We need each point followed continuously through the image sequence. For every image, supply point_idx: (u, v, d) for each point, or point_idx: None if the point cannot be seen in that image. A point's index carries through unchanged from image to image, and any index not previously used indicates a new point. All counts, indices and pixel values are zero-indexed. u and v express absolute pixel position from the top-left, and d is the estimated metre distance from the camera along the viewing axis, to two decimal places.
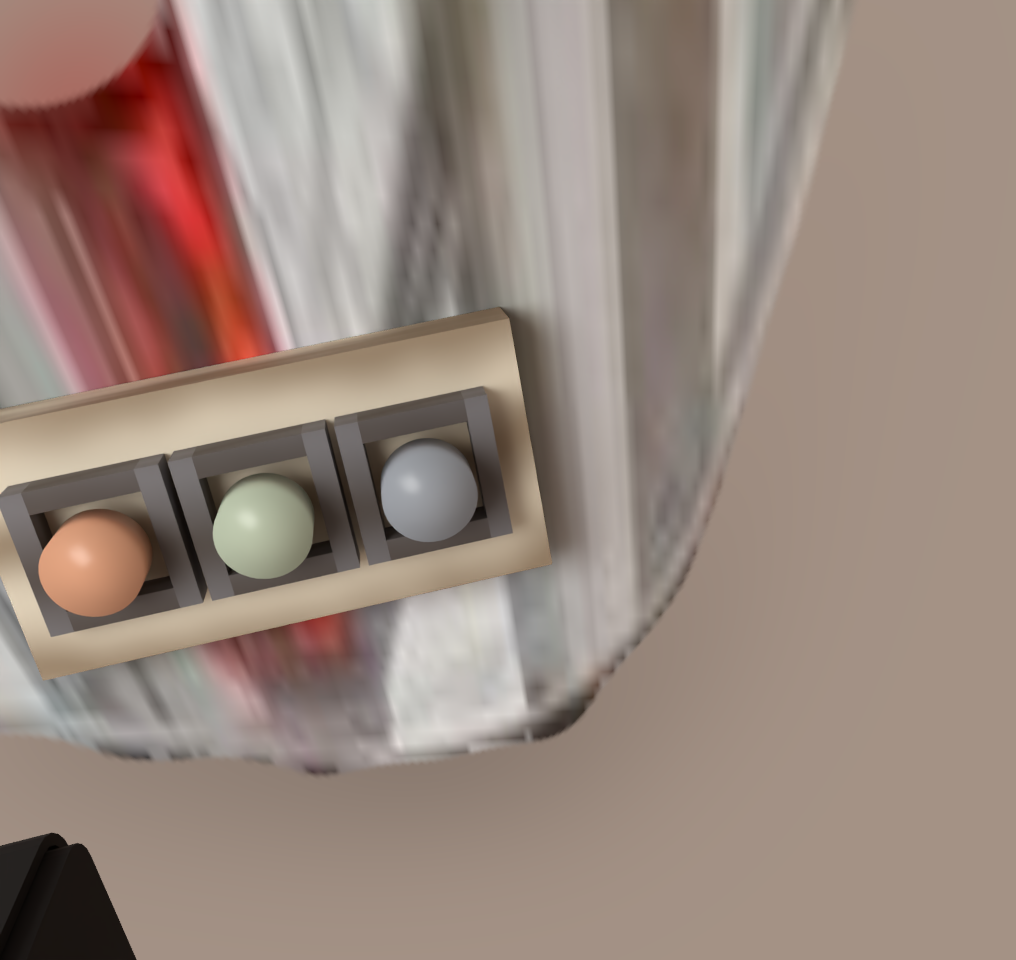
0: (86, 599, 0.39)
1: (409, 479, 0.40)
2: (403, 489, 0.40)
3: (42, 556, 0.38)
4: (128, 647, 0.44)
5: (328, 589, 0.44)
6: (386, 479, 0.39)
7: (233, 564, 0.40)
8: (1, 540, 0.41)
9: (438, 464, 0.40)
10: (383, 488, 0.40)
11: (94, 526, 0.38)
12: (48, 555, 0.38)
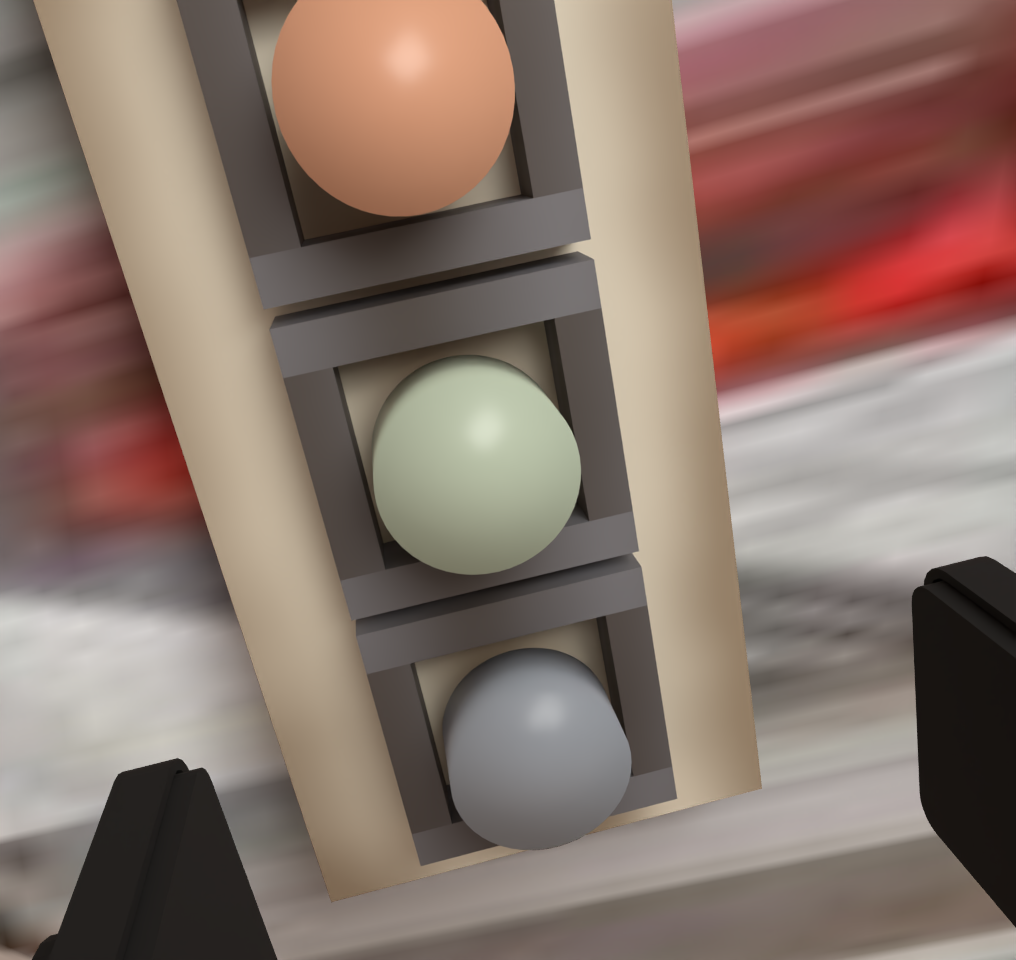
0: (320, 69, 0.16)
1: (581, 738, 0.21)
2: (562, 729, 0.21)
3: None
4: (105, 104, 0.18)
5: (270, 536, 0.22)
6: (582, 698, 0.20)
7: (410, 417, 0.18)
8: None
9: (606, 782, 0.21)
10: (564, 695, 0.20)
11: (512, 113, 0.16)
12: None
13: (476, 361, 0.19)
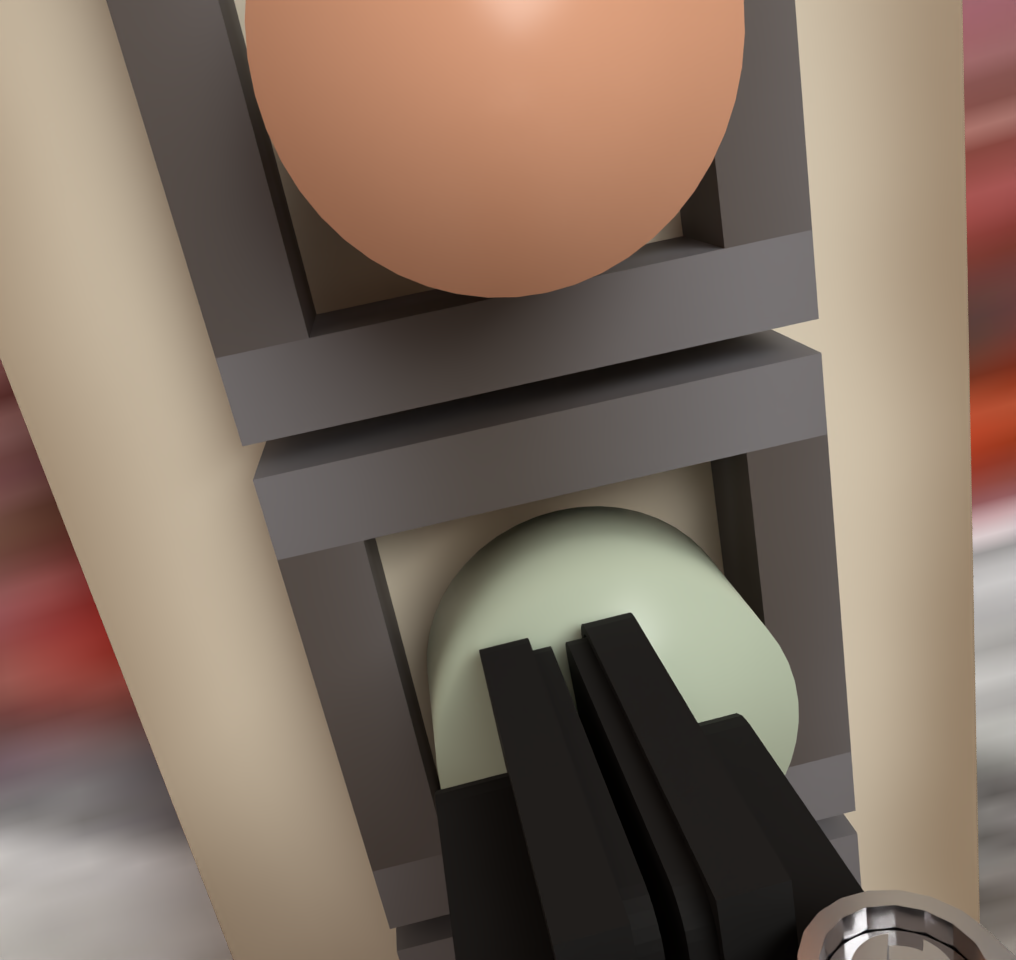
0: None
1: None
2: None
3: None
4: None
5: (260, 778, 0.14)
6: None
7: None
8: None
9: None
10: None
11: (732, 91, 0.08)
12: None
13: (611, 526, 0.11)
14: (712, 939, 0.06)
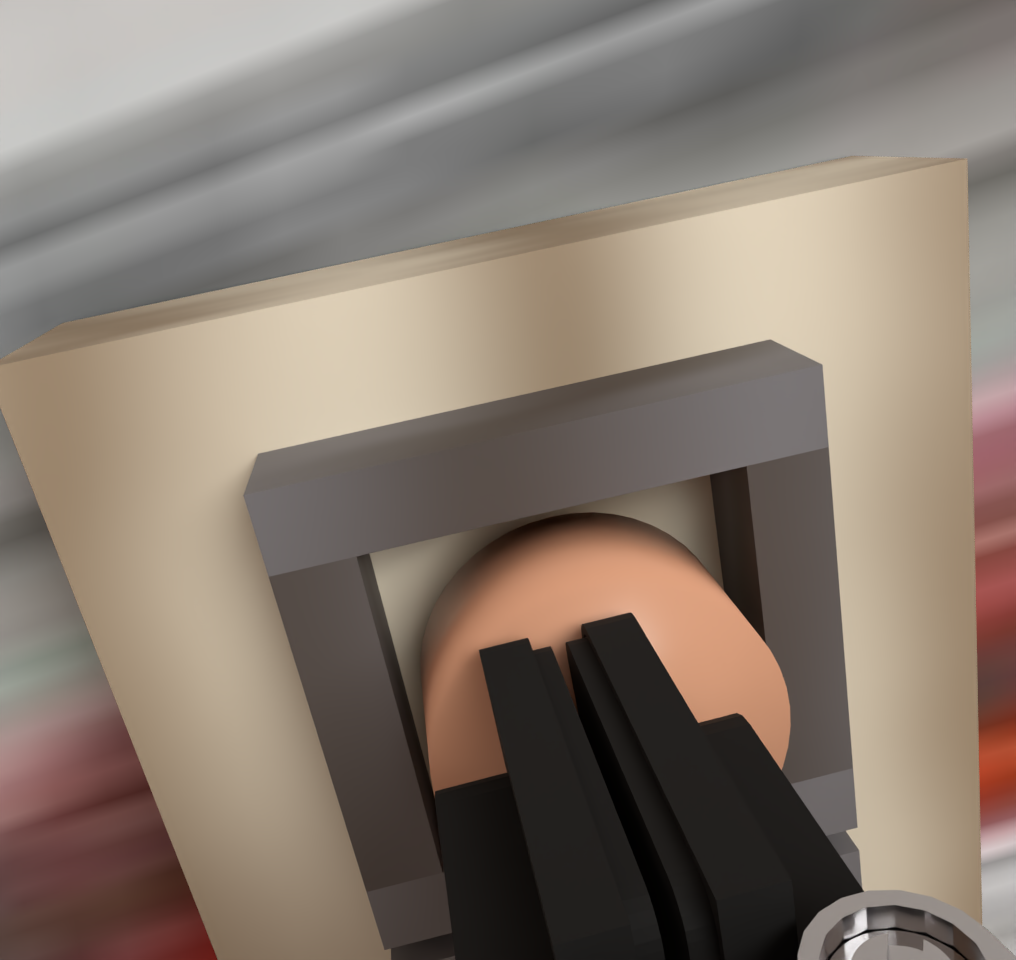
0: None
1: None
2: None
3: (695, 598, 0.10)
4: (155, 658, 0.12)
5: None
6: None
7: None
8: (583, 294, 0.12)
9: None
10: None
11: (780, 753, 0.11)
12: (697, 619, 0.10)
13: None
14: (713, 939, 0.06)
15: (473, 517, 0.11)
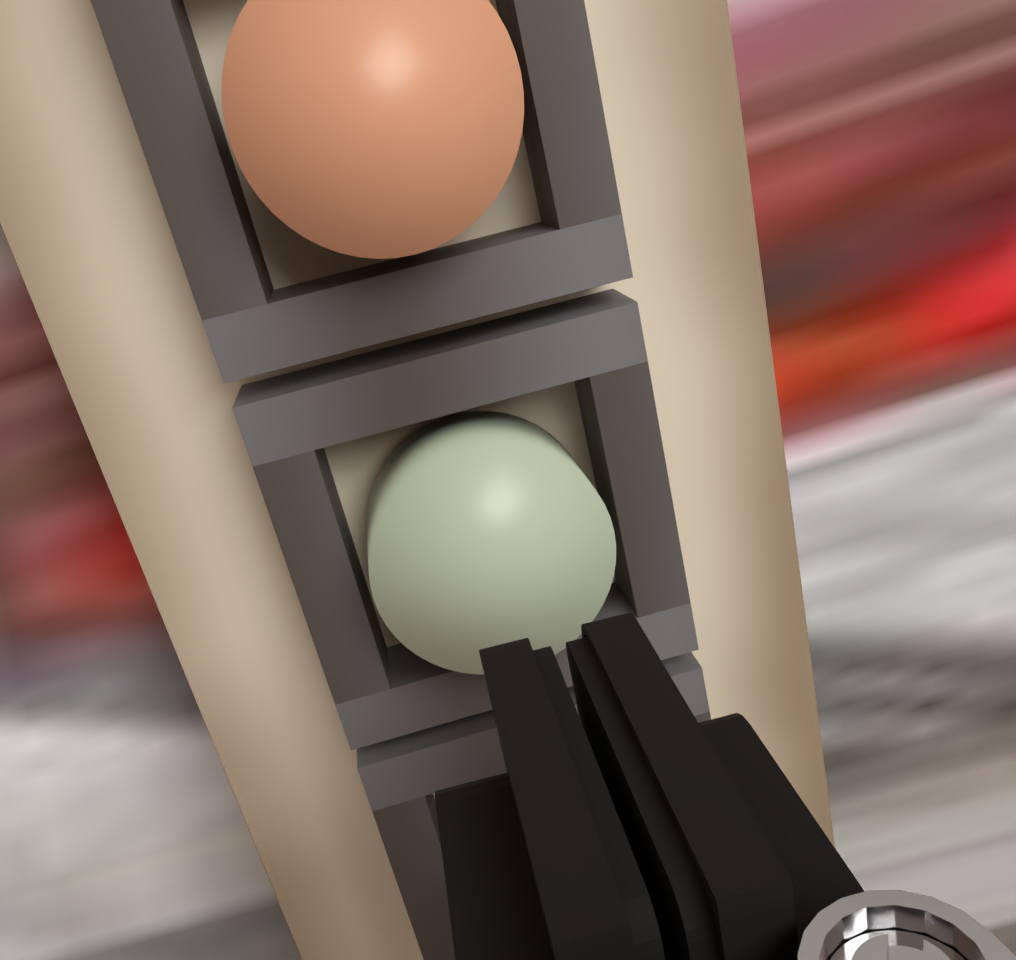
0: (282, 82, 0.13)
1: None
2: None
3: None
4: (11, 131, 0.14)
5: (249, 647, 0.18)
6: None
7: (410, 496, 0.15)
8: None
9: None
10: None
11: (520, 127, 0.13)
12: None
13: (486, 420, 0.16)
14: (713, 939, 0.06)
15: None
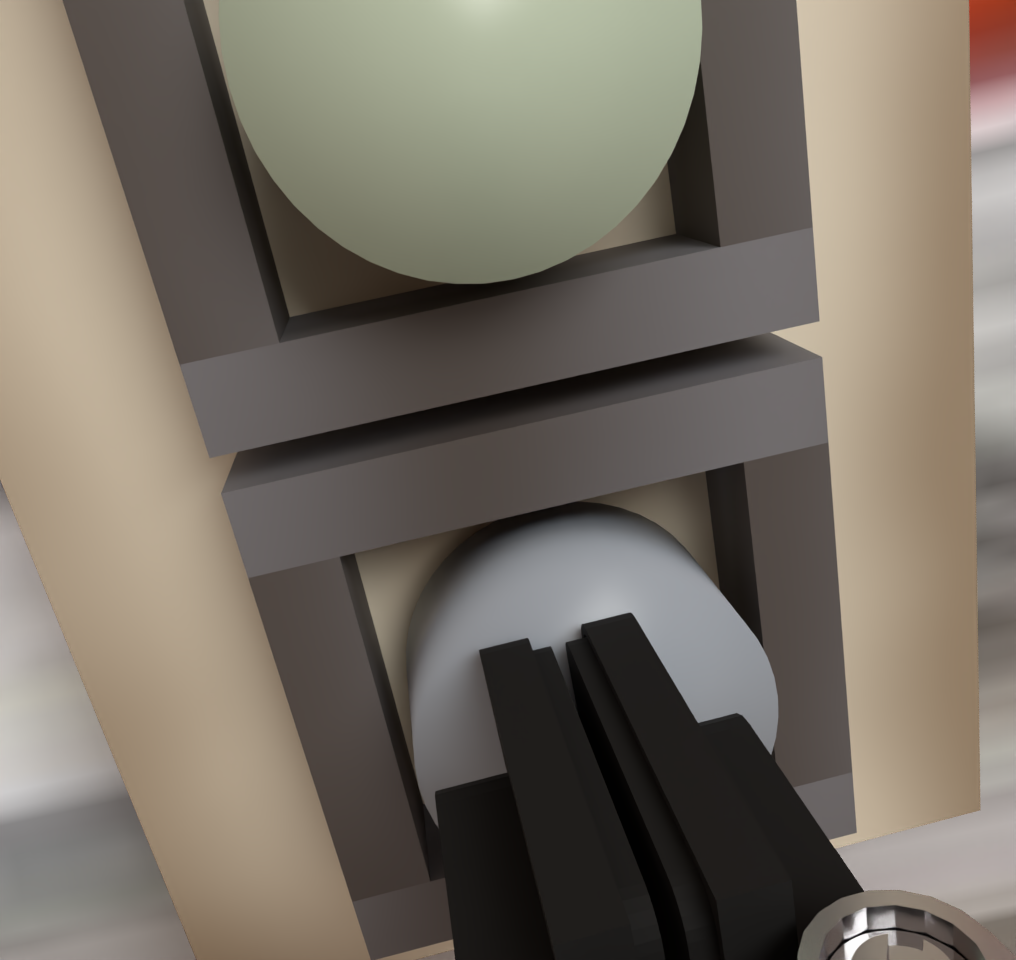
0: None
1: (681, 666, 0.10)
2: None
3: None
4: None
5: (51, 293, 0.10)
6: (686, 583, 0.10)
7: None
8: None
9: None
10: (651, 574, 0.10)
11: None
12: None
13: None
14: (712, 939, 0.06)
15: None
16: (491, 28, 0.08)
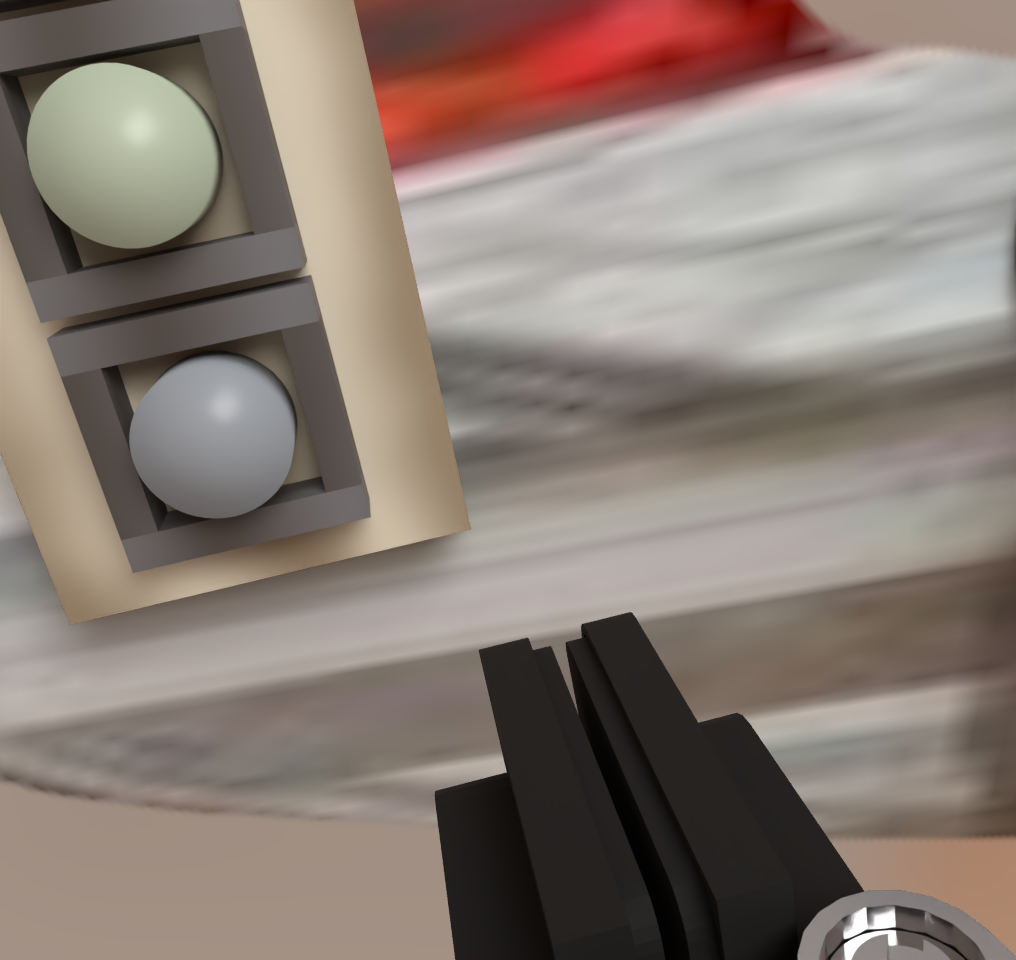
0: None
1: (243, 411, 0.24)
2: (226, 401, 0.24)
3: None
4: None
5: None
6: (241, 374, 0.24)
7: (53, 97, 0.21)
8: None
9: (272, 455, 0.25)
10: (224, 369, 0.24)
11: None
12: None
13: None
14: (713, 939, 0.06)
15: None
16: (129, 154, 0.22)
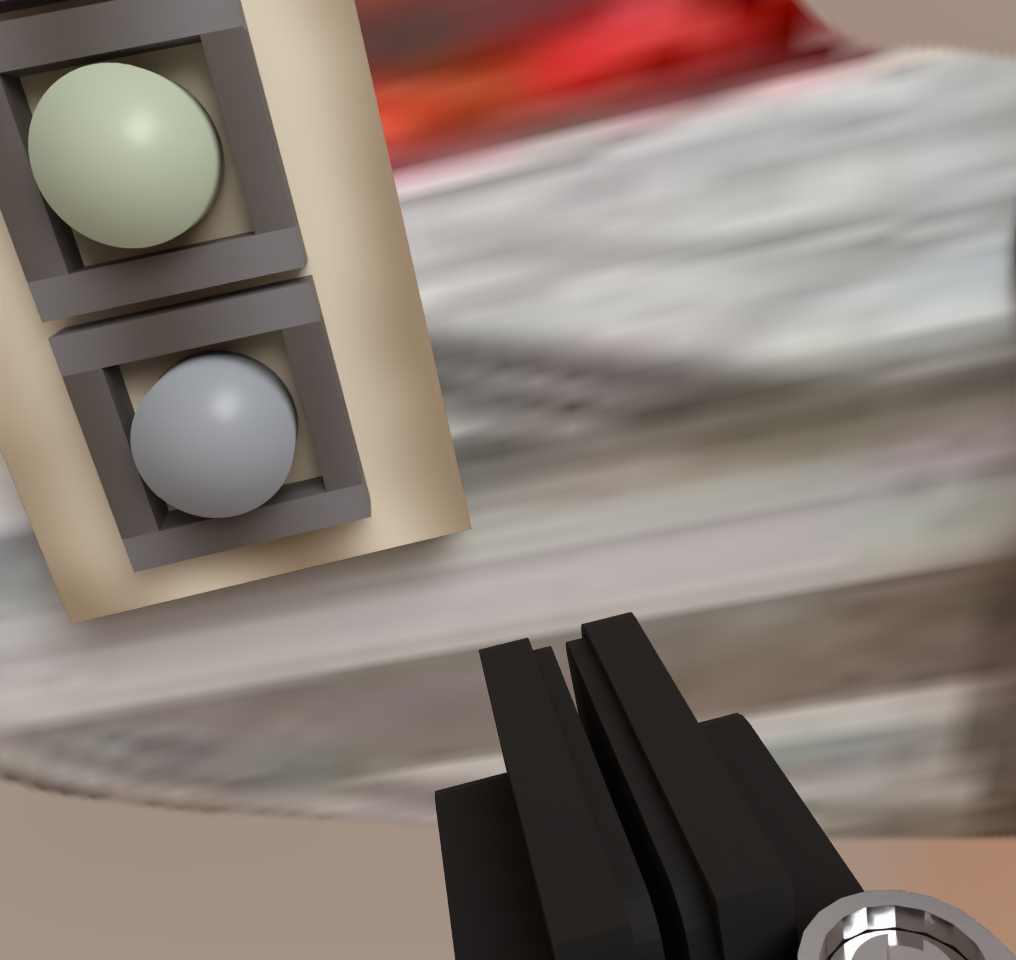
0: None
1: (244, 410, 0.24)
2: (226, 401, 0.24)
3: None
4: None
5: None
6: (242, 373, 0.24)
7: (54, 97, 0.21)
8: None
9: (273, 455, 0.25)
10: (225, 369, 0.24)
11: None
12: None
13: None
14: (713, 939, 0.06)
15: None
16: (130, 154, 0.22)
